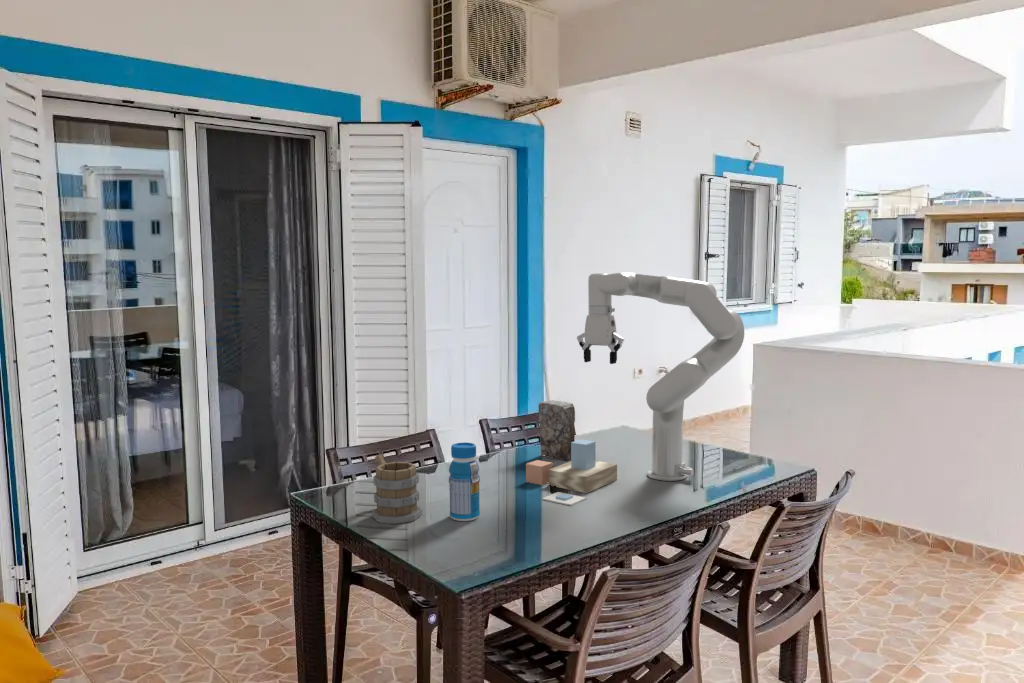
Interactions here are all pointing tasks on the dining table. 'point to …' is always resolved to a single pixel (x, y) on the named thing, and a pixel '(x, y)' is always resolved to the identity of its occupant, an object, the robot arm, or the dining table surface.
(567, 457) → the stone block
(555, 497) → the card
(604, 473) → the ash base block
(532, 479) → the terracotta cube
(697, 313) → the robot arm
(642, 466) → the dining table surface
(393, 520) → the tankard
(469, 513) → the beverage bottle
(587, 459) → the blue block
